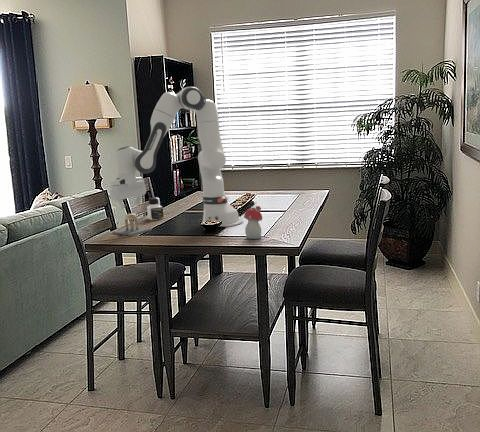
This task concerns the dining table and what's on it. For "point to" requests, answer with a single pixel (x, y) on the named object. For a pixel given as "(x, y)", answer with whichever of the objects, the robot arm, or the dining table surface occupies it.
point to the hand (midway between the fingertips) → (130, 206)
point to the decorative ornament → (253, 223)
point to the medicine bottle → (155, 209)
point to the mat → (134, 232)
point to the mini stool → (131, 221)
